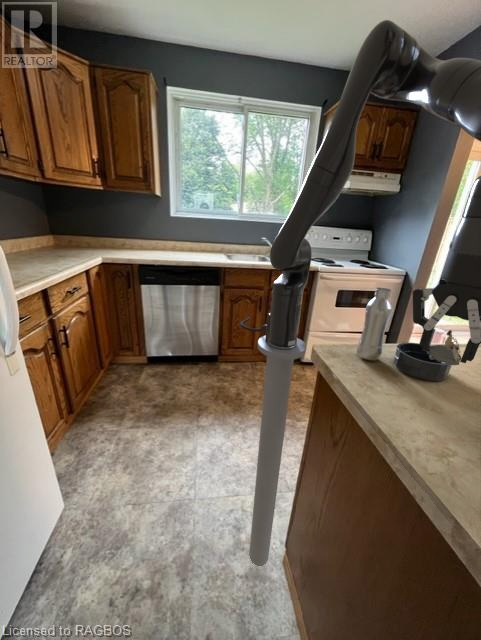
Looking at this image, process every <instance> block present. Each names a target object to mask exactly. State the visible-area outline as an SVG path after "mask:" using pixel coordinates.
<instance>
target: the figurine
mask: <svg viewBox="0 0 481 640" xmlns="http://www.w3.org/2000/svg"><path fill="white" fill-rule="evenodd" d="M445 335H446V336H447V338H445V340H444V344H435V345H430V346H429V349H428V351H427V353H428V354H430V356H429V358H430V359H431V360H434V359H436V360H437V361H438V362H439V361H441V362H444V363H447V364H450V365H452V366H459V365H460V363H461V362H460V361H461V359H462V355H461V349H460V344H459V342H458V339H457V338H456V337H454V336H453V331H452V329H450V330H448V331H447V332H446V334H445ZM455 343H456V344H455Z"/></svg>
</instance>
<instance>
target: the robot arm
mask: <svg viewBox="0 0 481 640" xmlns="http://www.w3.org/2000/svg"><path fill="white" fill-rule="evenodd" d="M370 94H371V95H373V96H375V97H377V98H379V99H383V100H389V101H398V102H406V103H411V104H414V105H417V106H419V107H420V108H422V109H424V110H425V111H426V112H428V113H430V114H431V115H433V116H435V117H436V118H438V119H441V120H443V121H445V122H447V123H449V124H452V125H454V126H455V127H459V128H461V129H462V130H463V131H464V132H465V133H466V134H468V135H469V136H471V137H472V138H473V139H475V140H477V141H479V142H480V143H481V60H480V59H475V58H470V57H453V58H450V59H447V60H442V59H439V58H437V57H435V56H434V55H431V53H429V52H428V51H427V50H425V49H424V48H423V47H422V46H421V45H420V43H419V42H418V40H417V39H416V38H415V37H414V36H412V35H411V34H410V33H408V32H407V31H406V30H405V29H404V28H402V27H400V26H399V25H398V24H396V23H395V22H394V21H393V20H390V19H385V20H382V21H380V22H379V23H377V24H376V25H374V27H373V28H372V29H371V30H370V32H369V33H368V35H367V36H366V38H365V39H364V40H363V43H362V44H361V46H360V48H359V50H358V52H357V55H356V57H355V59H354V62H353V64H352V66H351V69H350V72H349V74H348V76H347V80H346V83H345V85H344V87H343V90H342V93H341V96H340V99H339V102H338V104H337V107H336V108H335V112H334V115H333V117H332V119H331V122H330V124H329V126H328V128H327V131H326V133H325V136H324V137H323V140H322V142H321V144H320V147H319V149H318V151H317V153H316V155H315V157H314V158H313V161H312V163H311V166H310V168H309V169H308V172H307V175H306V177H305V179H304V181H303V184H302V186H301V188H300V191H299V193H298V195H297V197H296V199H295V202H294V204H293V206H292V207H291V210H290V212H289V214H288V216H287V217H286V220H285V221H284V224H283V225H282V227H281V228H280V230H279V231H278V234H277V235H276V237H275V239H274V241H273V242H272V245H271V248H270V252H269V262H270V264H271V266H272V267H273V269H274V270H277V271H281V274H280V276H279V277H278V278H276V280H274V281H273V283H272V291H271V302H270V311H269V312H270V313H267V315H266V316H267V318H266V323H265V324H264V325H262V326H261V327H260V328H252V327H248V326H246V325H244V324H245V323H247V322H249V321H250V320H251V317H250V316H248V317H247V318H246V319H244V320H242V321H240V323H239V326H240V327H241V328H242V329H243V330H246V331H249V332H255V333H256V332H257V333H258V332H259V333H260V332H263V334H264V333H265V335H266V339H265V342H267V343H268V344H269V345H270V346H271V347H273V348H276V349H281V350H289V349H293V348H295V347H296V346H297V338H298V334H299V327H300V321H301V320H300V319H301V313H302V305H303V296H304V290H305V287H306V286H307V284H308V280H309V276H310V269H311V263H312V255H313V253H312V247H311V244H310V242H309V240H307V239H306V236H307V234H308V232H309V231H310V230H311V228H312V227H313V225H314V224H315V223H316V222H318V220H319V219H320V218H321V217H322V216H323V215H324V214H325V213H326V212H327V211H328V210H329V209H330V208H331V207H332V206H333V205H334V204H335V202H336V201H337V199H338V198H339V196H340V195H341V193H342V191H343V190H344V188H345V186H346V184H347V182H348V180H349V178H350V177H351V174H352V172H353V169H354V166H355V159H356V149H357V134H358V126H359V122H360V119H361V116H362V113H363V110H364V108H365V105H366V103H367V101H368V98H369V96H370ZM448 248H449V249H448V252H447V255H446V258H445V262H444V263H443V264H444V265H443V268H442V270H441V274H440V276H439V280H438V282H437V283H436V284H435V286H433V287H430V288H427V287H426V288H424V287H417V288H416V289H414V290H413V291H412V322H413V323H414V324H415V325H419V326H420V327H421V328H422V329H423V330H422V333H421V336H420V340H419V344H420V346H421V347H423V348H422V350H423V351H426V352H427V351H428V349H429V346H432V345H431V344H432V341H433V338H434V336H435V332H436V329H435V328H436V326H437V324H438V323H439V322H440V321H441V319H442V318H444V316H446V317H456V318H459V319H461V320H465V321H468V328H469V335H470V336H469V337H470V338H469V339H468V341H467V342H466V345H465V348H464V350H463V352H462V353H463V354H462V355H461V360H460V362H459V363H461V364H466V363H467V361H468V362H472V361H473V360H474V359H475V357H476V354H477V352H478V350H479V346H480V345H481V175H479V176H478V177H477V178H476V179H475V180H474V182H473V183H472V185H471V188H470V190H469V192H468V197H467V199H466V202H465V205H464V208H463V210H462V214H461V218H460V220H459V222H458V225H457V226H456V229H455V231H454V233H453V236H452V240H451V241H450V242H449V246H448ZM431 295H432V297H433V299H434V301H435V303H436V304H437V306H438V308H437V309H436V310H435V311H434V313H433V314H432V315H431V317H430V318H428V317H426V316H425V315H426V312H425V310H426V307H425V306H426V301H428V300H429V299H430V296H431Z"/></svg>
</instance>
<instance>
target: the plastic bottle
mask: <svg viewBox="0 0 481 640" xmlns="http://www.w3.org/2000/svg"><path fill="white" fill-rule="evenodd" d="M373 294H374V297H373V298H372V299H370V300H369V302H368V303H367V304H366V307H365V315H364V324H363V329H362V332H361V335H360V338H359V340H358V342H357V344H356V353H357V355H358V357H360V358H361V359H364V360H367V361H377V360H379V359H380V358H381V356H382V354H383V349H384V346H383V344H384V339H385V338H384V337H385V332H386V329H387V327H388V323H389V322H390V319H391V317H392V315H393V312H394V310H393V309H394V308H393V306H392V303H391V301H390V298H391V294H392V289H390V288H387V287H376V288H375V291H374V293H373Z"/></svg>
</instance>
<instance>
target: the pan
mask: <svg viewBox="0 0 481 640" xmlns="http://www.w3.org/2000/svg"><path fill="white" fill-rule="evenodd" d="M422 348H423V347H421V346H420V343H418V342H400V343H398V345H396V349H395V351H394V356H393V359H392V362H393V364H394V366H395V367H396V368H397V369H398V370H399V371H400V372H402V373H404V374H405V375H407V376H410V377H413V378H415V379H419V380H422V381H428V382H440V381H443V380H446V379H448V377H449V375H450V372H451V369H452V367H453V365H450V364H447V363H444V362H441V361H439V362H438V361H437V360H436V359H434V360H431V359H430V358H429V356H430V354H428V353H427V352H426V351H423V350H422Z"/></svg>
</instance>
